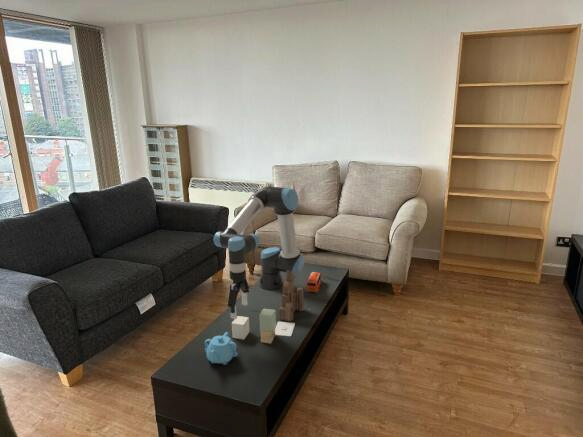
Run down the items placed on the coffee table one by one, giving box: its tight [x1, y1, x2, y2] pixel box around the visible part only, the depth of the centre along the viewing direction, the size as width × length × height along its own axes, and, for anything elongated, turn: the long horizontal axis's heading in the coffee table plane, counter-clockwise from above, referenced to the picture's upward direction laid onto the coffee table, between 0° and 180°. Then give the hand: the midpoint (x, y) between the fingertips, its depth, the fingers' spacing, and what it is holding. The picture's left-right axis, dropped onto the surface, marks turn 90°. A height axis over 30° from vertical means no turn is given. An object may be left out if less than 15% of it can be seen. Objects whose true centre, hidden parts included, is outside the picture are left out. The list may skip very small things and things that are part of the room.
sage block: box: [258, 308, 277, 332], centre depth 191 cm, size 6×6×8 cm
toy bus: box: [305, 271, 323, 293], centre depth 246 cm, size 7×18×7 cm, turn 167°
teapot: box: [204, 331, 239, 366], centre depth 176 cm, size 13×14×11 cm
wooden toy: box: [278, 270, 304, 323], centre depth 212 cm, size 16×7×25 cm, turn 150°
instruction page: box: [275, 321, 296, 337], centre depth 201 cm, size 12×9×1 cm
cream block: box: [231, 315, 250, 340], centre depth 196 cm, size 7×6×8 cm
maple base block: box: [259, 326, 276, 344], centre depth 192 cm, size 7×5×6 cm
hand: (239, 311), depth 193 cm, fingers open, 13 cm apart
